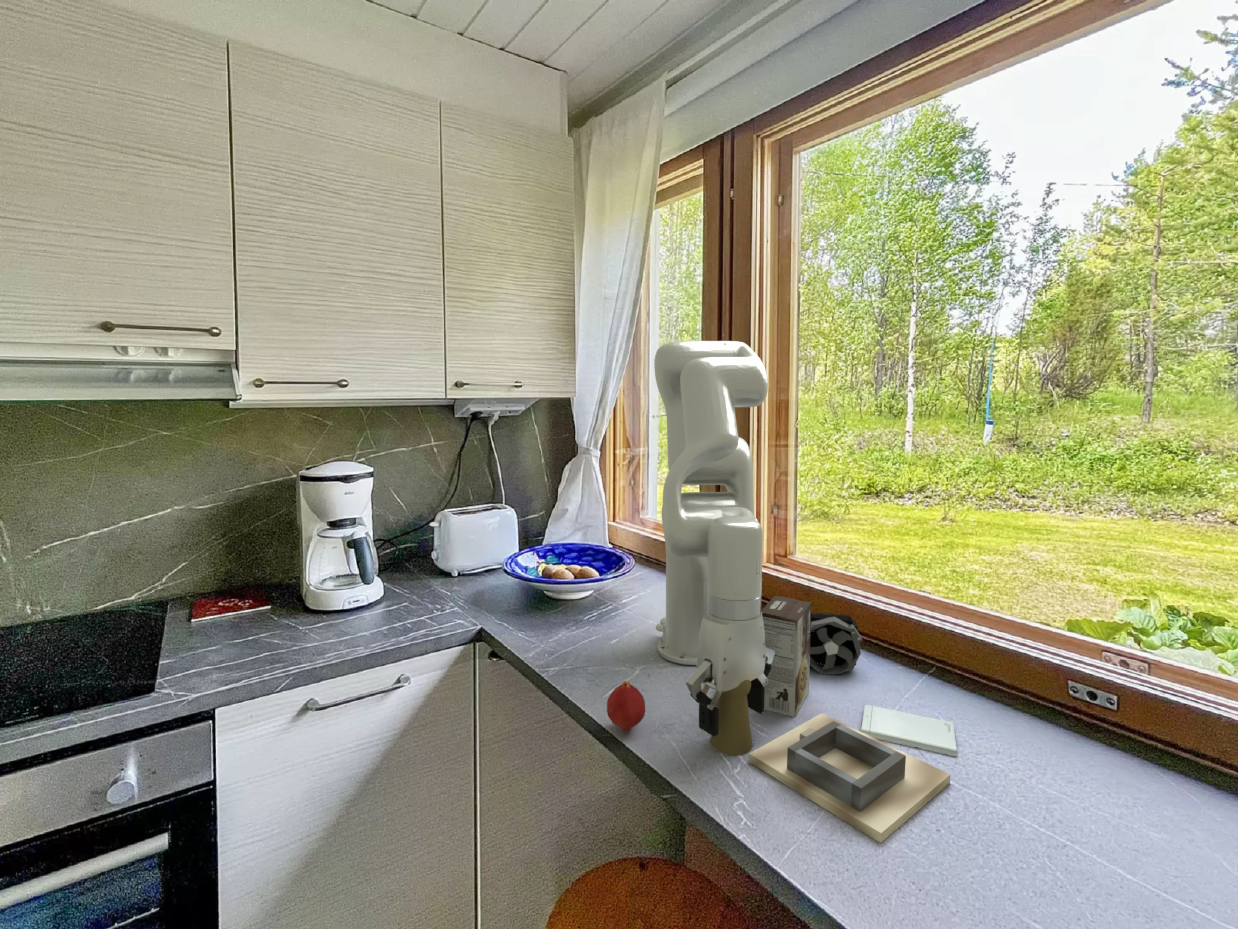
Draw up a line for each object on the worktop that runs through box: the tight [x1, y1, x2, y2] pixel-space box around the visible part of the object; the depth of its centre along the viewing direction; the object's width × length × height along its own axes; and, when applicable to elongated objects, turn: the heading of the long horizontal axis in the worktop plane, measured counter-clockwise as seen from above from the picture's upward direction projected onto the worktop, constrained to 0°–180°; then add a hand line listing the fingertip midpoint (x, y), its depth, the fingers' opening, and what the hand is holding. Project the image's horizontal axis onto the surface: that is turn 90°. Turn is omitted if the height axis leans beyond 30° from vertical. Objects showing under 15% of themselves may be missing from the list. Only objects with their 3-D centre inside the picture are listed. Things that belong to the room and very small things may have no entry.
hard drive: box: [860, 704, 958, 758], centre depth 89 cm, size 2×8×12 cm
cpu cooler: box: [809, 611, 863, 675], centre depth 109 cm, size 10×6×10 cm, turn 76°
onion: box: [606, 679, 646, 733], centre depth 89 cm, size 6×6×8 cm
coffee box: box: [761, 595, 812, 718], centre depth 98 cm, size 9×6×16 cm
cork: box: [710, 680, 753, 757], centre depth 86 cm, size 6×6×11 cm
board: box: [748, 713, 951, 844], centre depth 79 cm, size 19×17×4 cm
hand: (732, 720), depth 86 cm, fingers open, 9 cm apart
